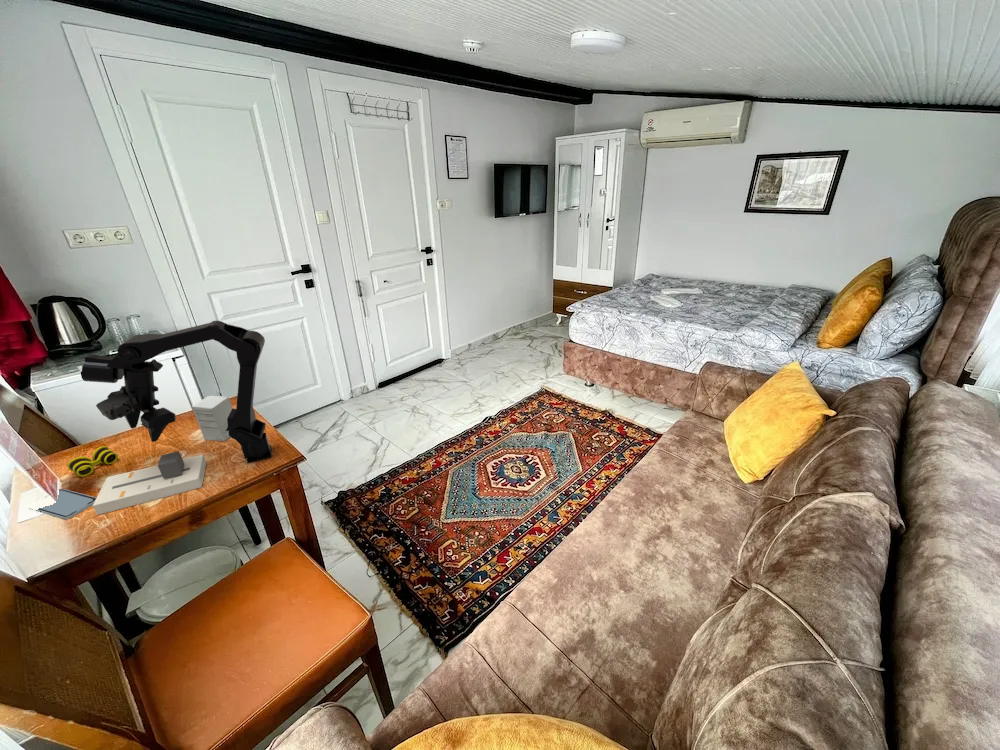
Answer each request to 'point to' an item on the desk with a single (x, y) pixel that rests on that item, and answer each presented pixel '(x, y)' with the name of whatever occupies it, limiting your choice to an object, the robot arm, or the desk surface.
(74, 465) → the opera glasses
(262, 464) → the desk surface
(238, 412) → the robot arm
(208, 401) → the supplement box
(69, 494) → the smartphone
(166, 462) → the block
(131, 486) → the block
